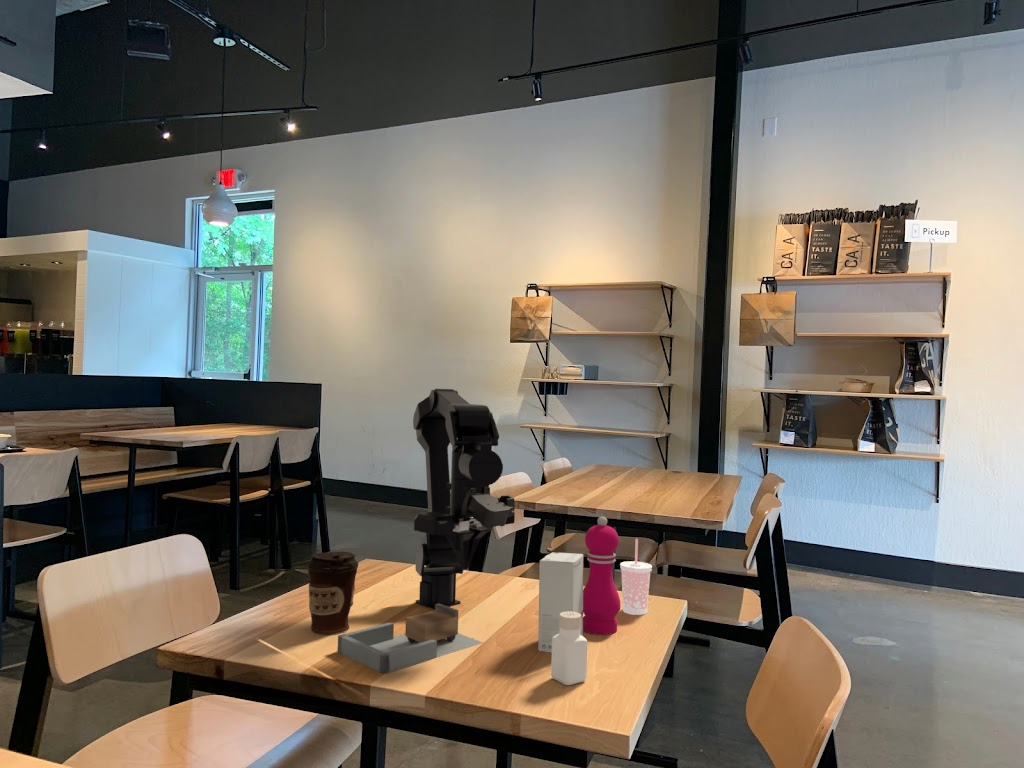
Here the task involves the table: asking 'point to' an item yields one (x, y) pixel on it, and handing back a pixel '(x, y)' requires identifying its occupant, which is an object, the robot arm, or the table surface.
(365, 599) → the table surface
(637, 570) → the beverage cup
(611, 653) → the table surface
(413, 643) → the dock
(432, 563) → the robot arm
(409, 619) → the block
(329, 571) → the coffee cup
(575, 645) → the salt shaker
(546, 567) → the skincare box
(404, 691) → the table surface
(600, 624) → the pepper mill
